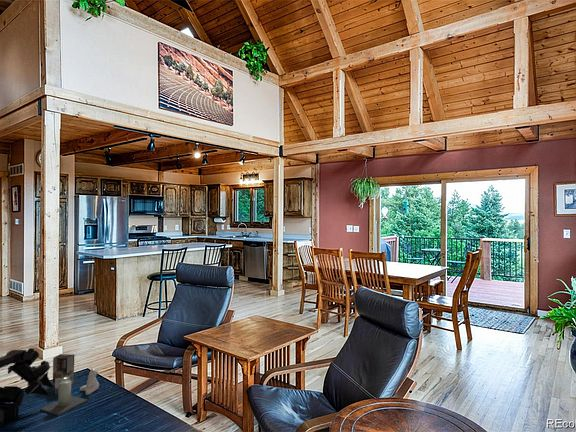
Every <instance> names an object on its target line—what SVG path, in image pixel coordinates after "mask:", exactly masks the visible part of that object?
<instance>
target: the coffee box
mask: <svg viewBox="0 0 576 432" xmlns="http://www.w3.org/2000/svg"><path fill="white" fill-rule="evenodd" d="M64 375H68V376H70V381H71V384H73V383H74V382H75V381H74V379H75V377H74V376H75V354H73V353H72V354H71V353H70V354H68V353H67V354H66V353H59V354H58V355H55V357H53V358H52V384H53V386H54V387H55V379H56V378H57V377H60V376H64Z"/></svg>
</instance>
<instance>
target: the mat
mask: <svg viewBox="0 0 576 432" xmlns="http://www.w3.org/2000/svg"><path fill="white" fill-rule="evenodd" d="M87 402H88V399H87V398H83V397H78V396H74V395H71V403H70V404H69V405H68V406H64V407H59V406H58V400H57V401H55V402H53V403H50V404H48V405H46V406H43V407H40V411H41V412H44V413H47V414H52V415H55V416H58V417H59V416H61V415H63V414H65V413H67V412H70V411H72V410H73V409H75V408H77V407H79V406H81V405H83V404H85V403H87Z"/></svg>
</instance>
